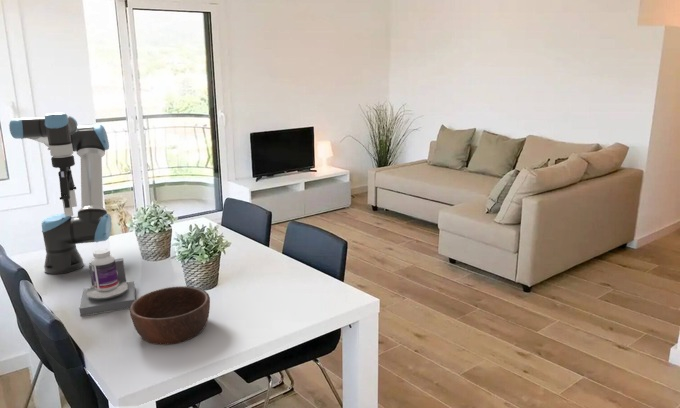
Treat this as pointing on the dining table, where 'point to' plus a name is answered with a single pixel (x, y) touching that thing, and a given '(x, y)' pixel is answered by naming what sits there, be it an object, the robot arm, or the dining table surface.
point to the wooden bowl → (170, 314)
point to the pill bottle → (104, 270)
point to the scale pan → (115, 292)
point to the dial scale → (111, 304)
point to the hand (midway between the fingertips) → (71, 211)
